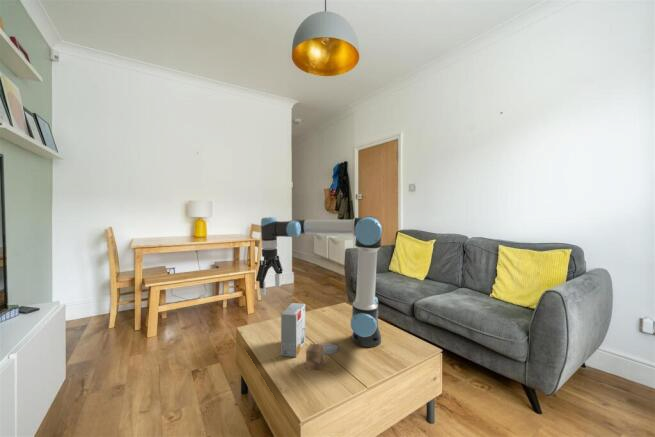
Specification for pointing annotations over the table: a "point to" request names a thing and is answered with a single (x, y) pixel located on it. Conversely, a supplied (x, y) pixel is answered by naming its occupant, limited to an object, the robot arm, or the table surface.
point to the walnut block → (314, 356)
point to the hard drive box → (292, 329)
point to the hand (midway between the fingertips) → (270, 290)
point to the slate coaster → (329, 348)
